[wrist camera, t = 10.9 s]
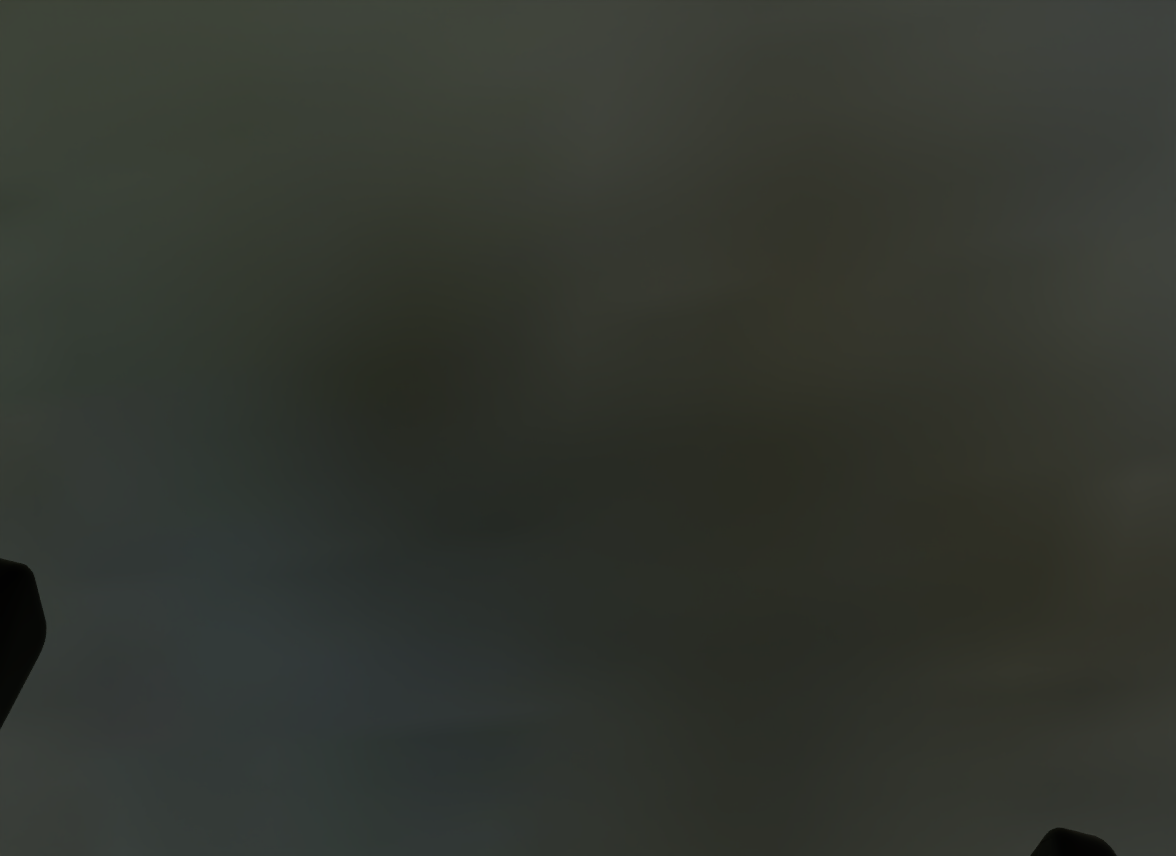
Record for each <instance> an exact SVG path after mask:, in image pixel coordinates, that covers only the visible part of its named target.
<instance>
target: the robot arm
mask: <svg viewBox="0 0 1176 856" xmlns="http://www.w3.org/2000/svg"><path fill="white" fill-rule="evenodd" d="M45 638H46V620H45V616H44V612H43V608H42V604H41V601H40V597H39V593H38V589H37V585H36V581H35V577H34V574H33V572H32V571H31V569H30V568H29V567H27V566H26V565H24V564H21V563H17V562H13V561H9V560H5V559H1V558H0V729H1V727H2V725H3V723H4V721H5V719H6V718H7V716H8V714H9V712H10V710H11V708H12V706H13V704H14V702H15V700H16V699H17V697H18V695H19V693H20V691H21V689H22V687H23V685H24V683H25V681H26V680H27V678H28V676H29V674H30V672H31V670H32V668H33V666H34V664H35V662H36V661H37V659H38V657H39V655H40V653H41V651H42V648H43V645H44V642H45ZM1031 856H1117V855H1116V854H1115V852H1114V851H1113V850H1112V848H1111V847H1110V846H1109V845H1108V844H1107V843H1106V842H1105V841H1104V840H1102V839H1100V838H1098V837H1096V836H1092V835H1088V834H1084V833H1080V832H1077V831H1073V830H1069V829H1065V828H1055V829H1052V830H1050V831H1049V832H1048V833H1047V834H1046V835H1045V836H1044V838H1043V839H1042V840H1041V842H1040V843H1039V845H1038V846H1037V847H1036V849H1035V850H1034V851H1033V853H1032V854H1031Z"/></svg>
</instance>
